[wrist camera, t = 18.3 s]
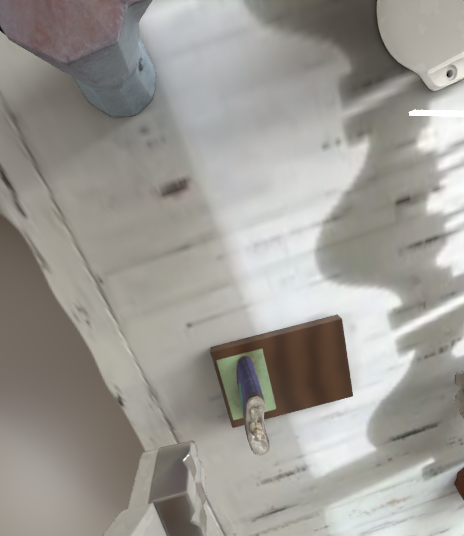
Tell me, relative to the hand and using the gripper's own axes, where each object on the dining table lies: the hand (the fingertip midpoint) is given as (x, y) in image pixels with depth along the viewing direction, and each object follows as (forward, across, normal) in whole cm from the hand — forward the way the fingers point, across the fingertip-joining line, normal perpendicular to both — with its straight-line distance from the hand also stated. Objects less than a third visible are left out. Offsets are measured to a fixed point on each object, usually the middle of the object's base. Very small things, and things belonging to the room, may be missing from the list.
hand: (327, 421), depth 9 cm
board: (+33, -3, +22) cm, 40 cm away
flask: (+31, +3, +21) cm, 38 cm away
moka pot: (+33, +9, -22) cm, 41 cm away
